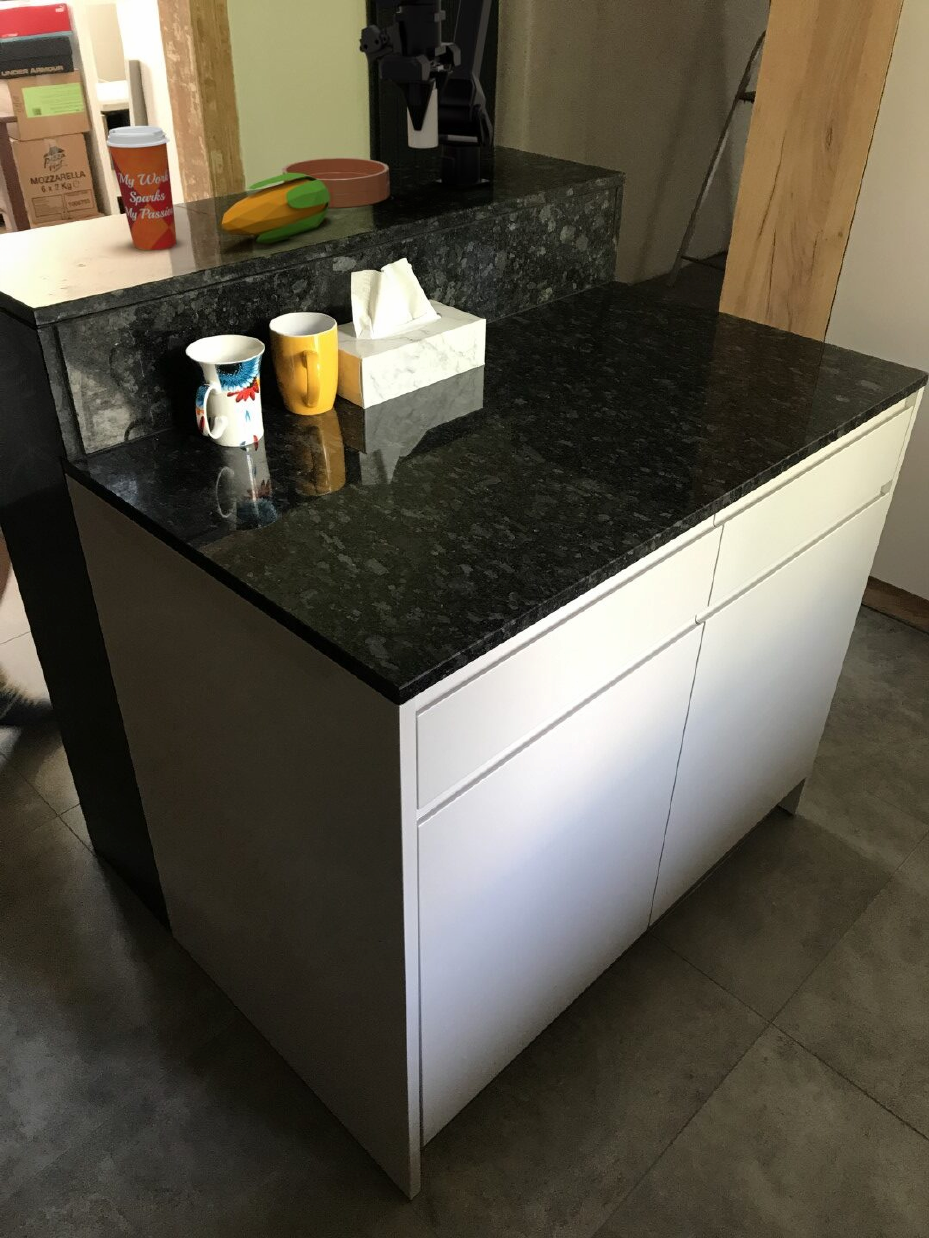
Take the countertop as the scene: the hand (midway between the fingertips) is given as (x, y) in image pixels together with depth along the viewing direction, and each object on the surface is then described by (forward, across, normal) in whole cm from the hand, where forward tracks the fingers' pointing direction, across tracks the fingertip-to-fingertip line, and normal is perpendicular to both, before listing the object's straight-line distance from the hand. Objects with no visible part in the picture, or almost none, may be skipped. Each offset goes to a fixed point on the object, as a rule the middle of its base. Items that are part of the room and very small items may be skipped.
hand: (423, 127), depth 146 cm
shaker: (+2, 0, 0) cm, 2 cm away
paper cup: (+11, +32, -27) cm, 43 cm away
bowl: (+11, +1, -14) cm, 18 cm away
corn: (+11, +24, -13) cm, 29 cm away
